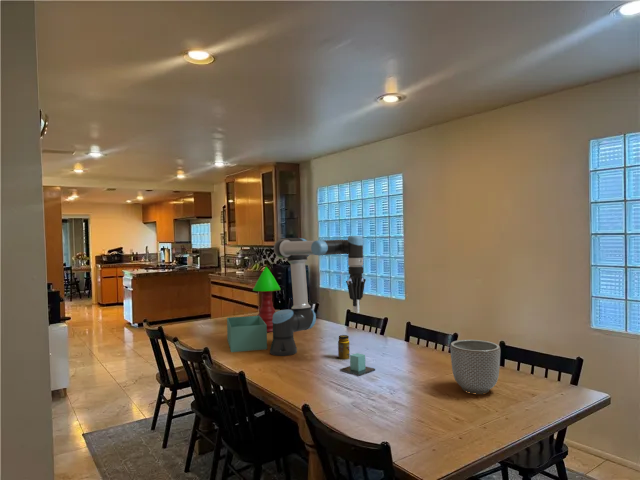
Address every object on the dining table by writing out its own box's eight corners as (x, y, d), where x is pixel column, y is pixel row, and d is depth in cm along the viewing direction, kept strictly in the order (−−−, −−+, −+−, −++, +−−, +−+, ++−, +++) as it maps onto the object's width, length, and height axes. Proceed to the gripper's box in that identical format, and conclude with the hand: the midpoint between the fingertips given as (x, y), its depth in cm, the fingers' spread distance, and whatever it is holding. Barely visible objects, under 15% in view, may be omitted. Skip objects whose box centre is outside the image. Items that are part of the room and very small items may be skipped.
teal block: (350, 369, 215) (350, 355, 215) (357, 366, 219) (357, 353, 219) (358, 371, 211) (358, 357, 211) (365, 368, 215) (365, 354, 215)
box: (231, 352, 254) (230, 327, 254) (227, 340, 285) (227, 317, 284) (267, 349, 259) (266, 324, 259) (259, 337, 290) (259, 315, 290)
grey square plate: (340, 370, 215) (340, 357, 215) (356, 365, 224) (356, 353, 224) (359, 376, 207) (359, 362, 207) (375, 370, 215) (375, 357, 215)
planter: (495, 402, 172) (495, 353, 172) (445, 393, 182) (444, 347, 182) (504, 387, 189) (504, 342, 188) (457, 380, 199) (457, 337, 199)
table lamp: (257, 326, 325) (256, 265, 325) (284, 326, 322) (283, 265, 322) (249, 332, 306) (248, 267, 305) (277, 332, 303) (276, 266, 302)
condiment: (352, 358, 237) (352, 336, 236) (340, 361, 232) (339, 338, 232) (344, 355, 243) (344, 333, 243) (332, 358, 238) (331, 335, 238)
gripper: (353, 267, 218) (353, 315, 218) (369, 265, 227) (370, 311, 227) (341, 266, 223) (342, 313, 224) (358, 265, 233) (359, 310, 233)
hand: (356, 312), depth 226 cm, fingers closed
